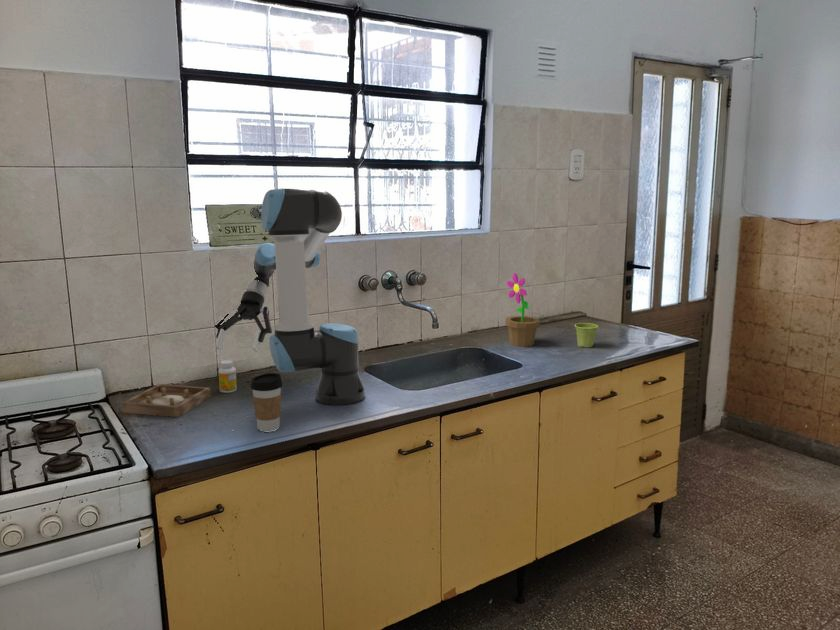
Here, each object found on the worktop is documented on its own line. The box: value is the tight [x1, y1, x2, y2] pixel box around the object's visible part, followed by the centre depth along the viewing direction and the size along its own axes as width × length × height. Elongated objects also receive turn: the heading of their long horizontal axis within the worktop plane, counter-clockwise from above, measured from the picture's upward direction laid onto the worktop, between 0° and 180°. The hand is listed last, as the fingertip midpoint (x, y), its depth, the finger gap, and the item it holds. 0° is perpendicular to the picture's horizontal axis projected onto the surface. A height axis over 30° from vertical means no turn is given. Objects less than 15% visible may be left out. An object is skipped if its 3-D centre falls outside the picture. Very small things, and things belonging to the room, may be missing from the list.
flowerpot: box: [504, 272, 541, 348], centre depth 265 cm, size 14×14×30 cm
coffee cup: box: [250, 372, 283, 431], centre depth 177 cm, size 8×8×15 cm
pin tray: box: [121, 383, 211, 418], centre depth 196 cm, size 18×18×4 cm
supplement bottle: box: [218, 359, 238, 394], centre depth 209 cm, size 5×5×10 cm
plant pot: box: [574, 322, 599, 349], centre depth 265 cm, size 9×9×9 cm
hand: (236, 348), depth 215 cm, fingers open, 13 cm apart
